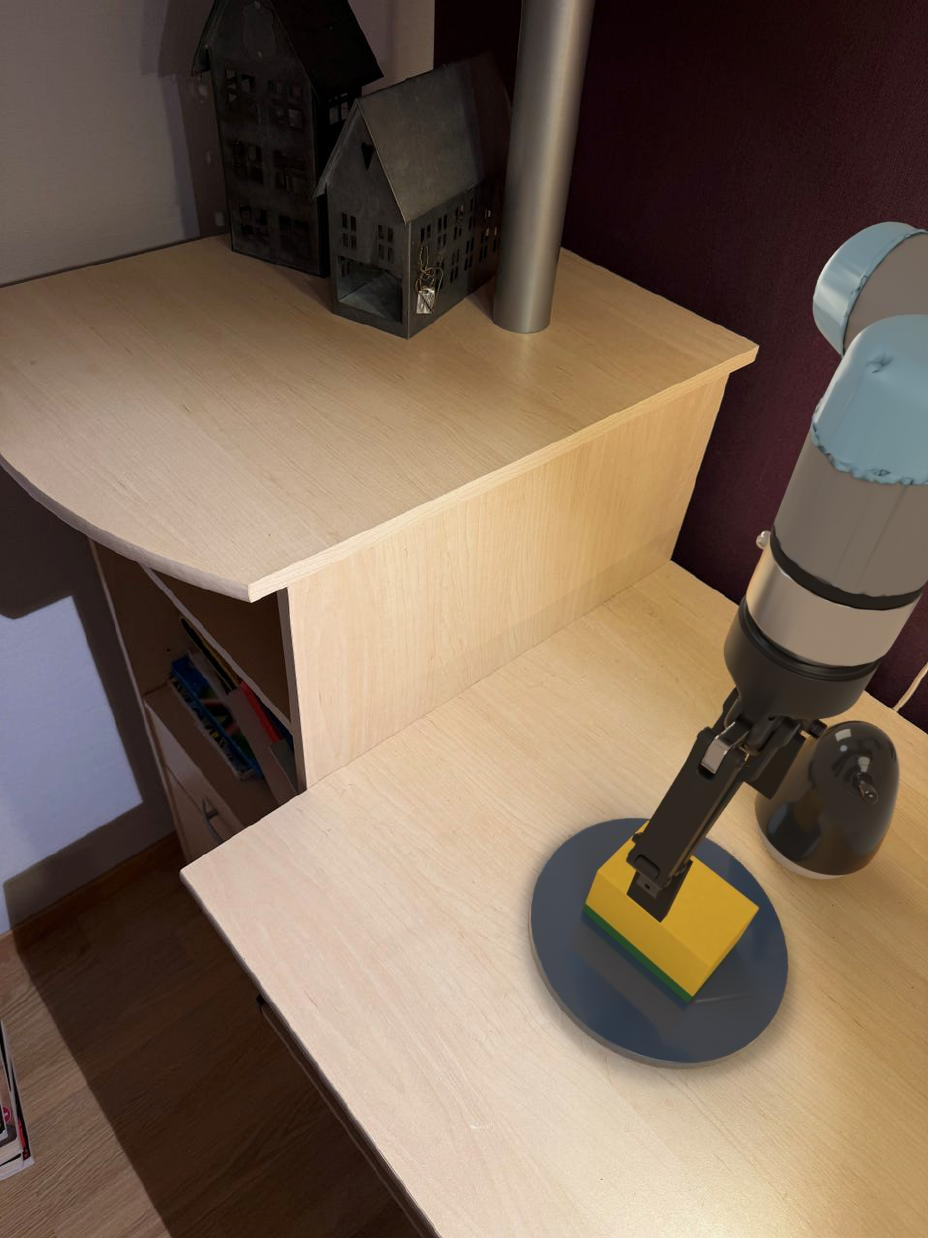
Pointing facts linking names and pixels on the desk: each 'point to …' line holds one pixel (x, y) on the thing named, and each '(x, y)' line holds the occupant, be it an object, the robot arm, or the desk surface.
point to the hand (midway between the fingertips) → (704, 842)
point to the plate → (627, 990)
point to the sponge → (672, 922)
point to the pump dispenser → (832, 802)
